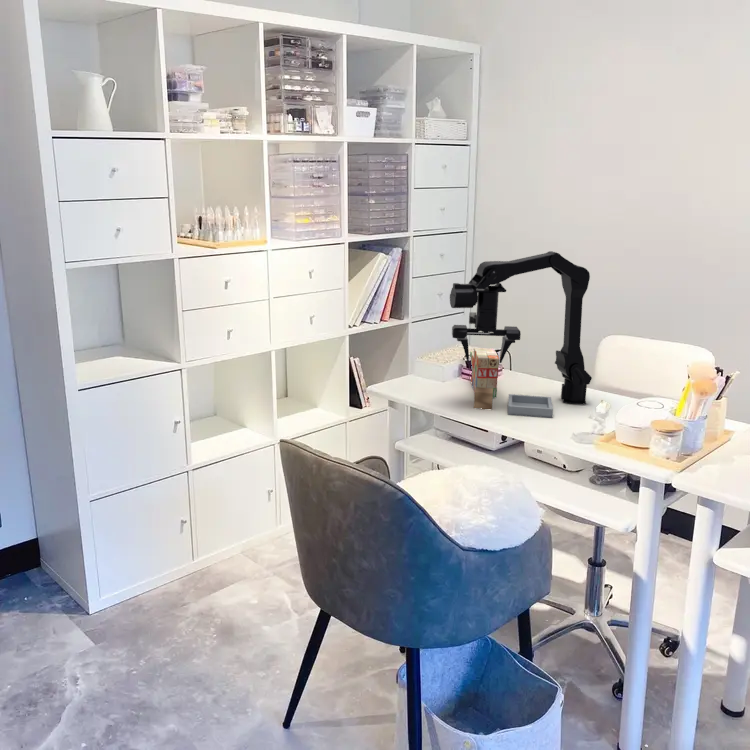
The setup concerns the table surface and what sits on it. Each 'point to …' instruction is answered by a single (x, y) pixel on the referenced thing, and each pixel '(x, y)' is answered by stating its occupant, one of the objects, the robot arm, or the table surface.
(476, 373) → the stack of blocks
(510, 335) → the robot arm
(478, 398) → the walnut cube
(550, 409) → the grey tray
